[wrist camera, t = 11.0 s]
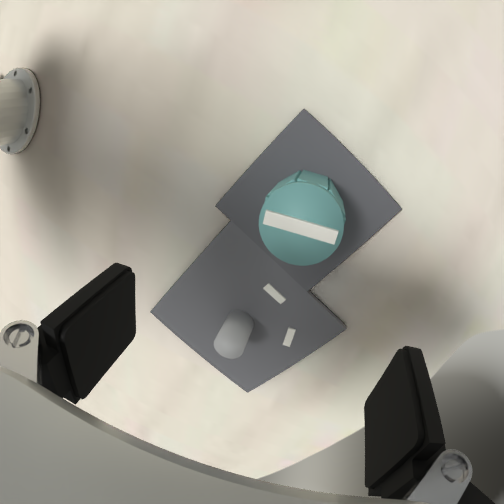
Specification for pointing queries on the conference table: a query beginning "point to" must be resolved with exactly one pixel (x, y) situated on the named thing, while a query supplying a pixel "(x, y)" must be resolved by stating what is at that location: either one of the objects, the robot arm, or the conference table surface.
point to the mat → (321, 162)
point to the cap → (302, 219)
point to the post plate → (245, 311)
